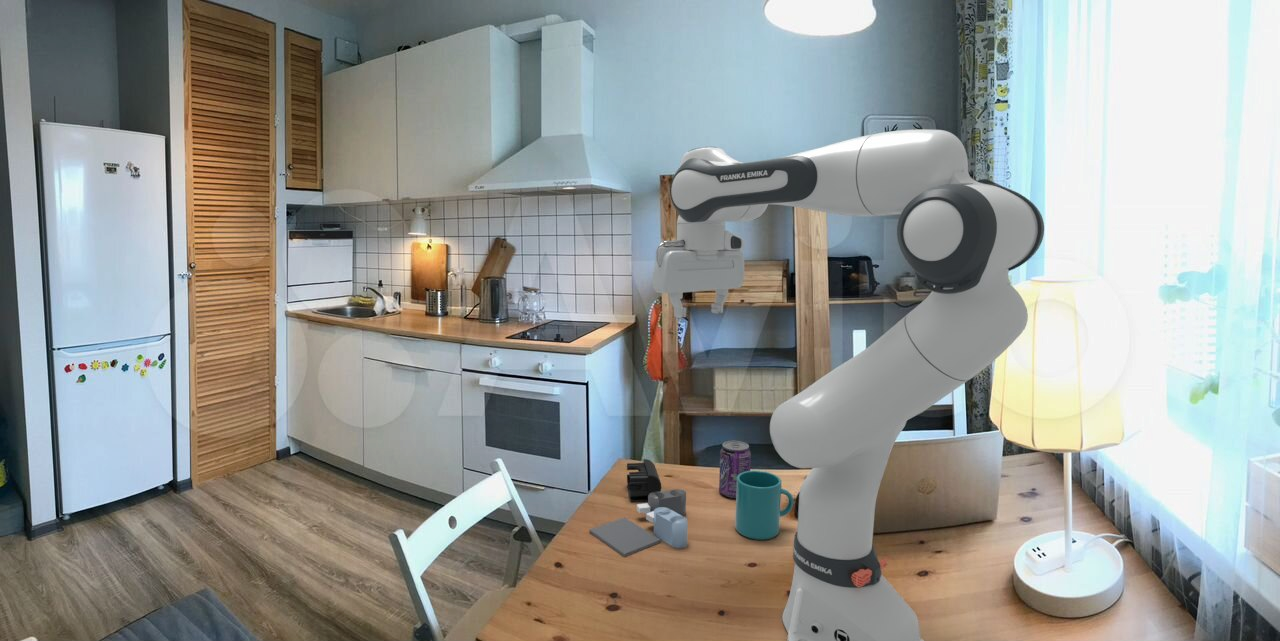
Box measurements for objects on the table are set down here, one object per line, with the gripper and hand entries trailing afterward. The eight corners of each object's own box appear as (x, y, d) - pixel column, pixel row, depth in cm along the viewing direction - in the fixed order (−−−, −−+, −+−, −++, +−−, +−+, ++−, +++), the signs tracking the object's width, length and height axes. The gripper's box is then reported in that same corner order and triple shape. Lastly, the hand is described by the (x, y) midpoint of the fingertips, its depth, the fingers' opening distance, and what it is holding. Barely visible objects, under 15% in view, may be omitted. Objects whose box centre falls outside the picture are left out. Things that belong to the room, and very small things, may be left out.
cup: (799, 539, 124) (802, 486, 122) (741, 542, 123) (743, 488, 121) (784, 518, 133) (786, 469, 131) (730, 521, 132) (731, 471, 130)
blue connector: (690, 544, 122) (691, 520, 121) (677, 550, 119) (678, 526, 119) (656, 523, 130) (656, 501, 129) (643, 528, 128) (643, 506, 127)
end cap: (661, 502, 140) (661, 474, 139) (630, 503, 140) (630, 475, 139) (655, 484, 150) (655, 458, 149) (626, 485, 149) (626, 459, 148)
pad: (660, 542, 122) (660, 539, 122) (624, 556, 117) (624, 553, 117) (624, 519, 132) (624, 517, 132) (589, 532, 126) (589, 529, 126)
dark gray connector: (682, 509, 137) (682, 488, 136) (688, 516, 133) (688, 494, 133) (635, 516, 133) (635, 494, 133) (640, 523, 130) (640, 501, 129)
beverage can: (719, 486, 149) (720, 439, 147) (748, 488, 148) (750, 440, 146) (718, 499, 142) (720, 449, 140) (749, 501, 141) (751, 451, 139)
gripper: (668, 240, 103) (667, 322, 106) (751, 240, 116) (748, 312, 118) (645, 240, 108) (644, 317, 110) (726, 239, 121) (724, 309, 123)
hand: (699, 315), depth 114 cm, fingers open, 8 cm apart
